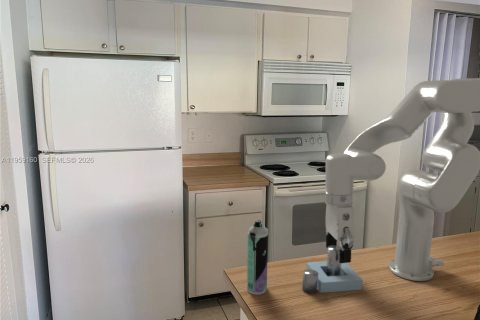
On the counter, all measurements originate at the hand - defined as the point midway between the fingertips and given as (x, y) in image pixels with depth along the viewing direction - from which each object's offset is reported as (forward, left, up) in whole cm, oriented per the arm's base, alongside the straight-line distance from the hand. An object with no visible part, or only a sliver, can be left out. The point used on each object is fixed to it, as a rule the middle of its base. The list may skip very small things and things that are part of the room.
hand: (337, 254), depth 106 cm
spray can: (+24, +2, -8) cm, 26 cm away
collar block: (+1, 0, -8) cm, 8 cm away
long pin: (+1, 0, -8) cm, 8 cm away
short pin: (+10, +4, -8) cm, 13 cm away
